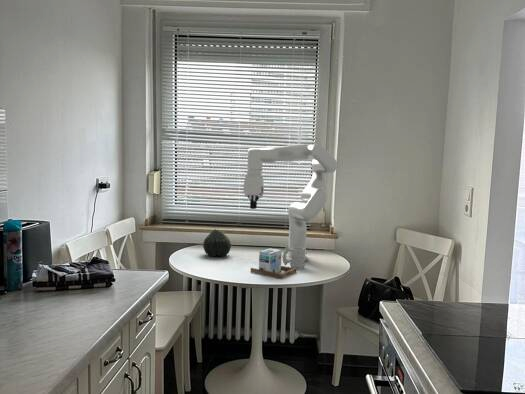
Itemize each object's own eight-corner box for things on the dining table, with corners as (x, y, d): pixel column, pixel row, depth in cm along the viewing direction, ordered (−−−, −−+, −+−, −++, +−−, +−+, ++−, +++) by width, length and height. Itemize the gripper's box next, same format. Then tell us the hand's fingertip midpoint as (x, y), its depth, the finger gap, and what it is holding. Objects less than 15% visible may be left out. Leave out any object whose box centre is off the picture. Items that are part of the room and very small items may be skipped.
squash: (225, 250, 239) (229, 226, 248) (198, 249, 242) (203, 226, 251) (230, 263, 250) (234, 240, 259) (204, 262, 253) (209, 239, 262)
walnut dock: (267, 266, 230) (267, 262, 229) (296, 272, 220) (296, 268, 220) (250, 272, 218) (250, 268, 218) (280, 278, 208) (281, 274, 208)
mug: (306, 269, 227) (307, 246, 225) (282, 269, 226) (283, 245, 225) (303, 266, 234) (304, 243, 233) (281, 265, 233) (282, 242, 232)
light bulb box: (269, 275, 213) (270, 253, 212) (257, 273, 217) (258, 251, 216) (281, 271, 222) (282, 249, 221) (269, 269, 226) (270, 247, 225)
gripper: (238, 172, 230) (237, 207, 232) (262, 173, 222) (261, 210, 224) (247, 171, 236) (245, 206, 238) (270, 173, 228) (269, 209, 230)
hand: (253, 208), depth 231 cm, fingers closed
